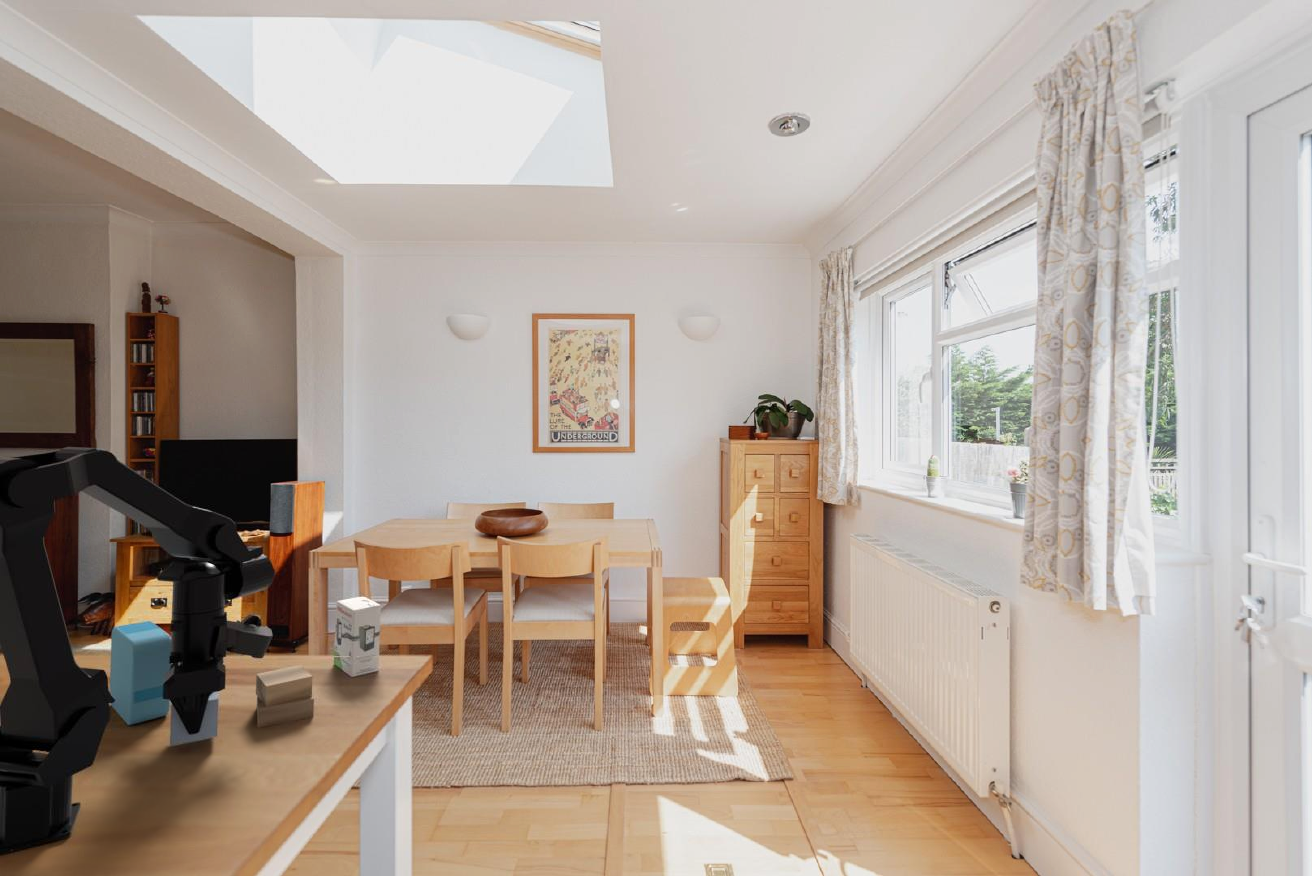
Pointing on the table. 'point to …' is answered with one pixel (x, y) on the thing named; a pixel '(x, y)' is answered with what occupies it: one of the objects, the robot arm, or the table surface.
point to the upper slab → (283, 685)
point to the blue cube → (207, 727)
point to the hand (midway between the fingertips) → (194, 725)
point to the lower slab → (284, 711)
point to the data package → (139, 671)
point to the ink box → (357, 635)
